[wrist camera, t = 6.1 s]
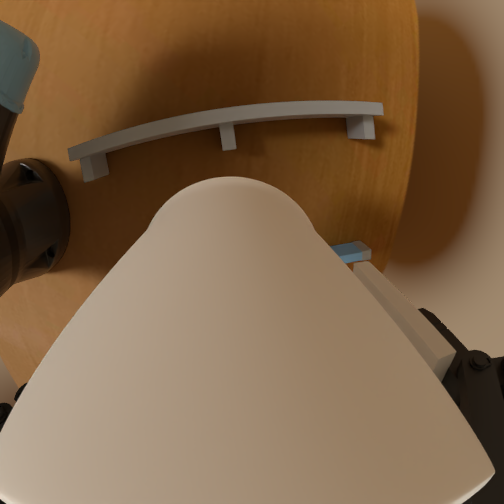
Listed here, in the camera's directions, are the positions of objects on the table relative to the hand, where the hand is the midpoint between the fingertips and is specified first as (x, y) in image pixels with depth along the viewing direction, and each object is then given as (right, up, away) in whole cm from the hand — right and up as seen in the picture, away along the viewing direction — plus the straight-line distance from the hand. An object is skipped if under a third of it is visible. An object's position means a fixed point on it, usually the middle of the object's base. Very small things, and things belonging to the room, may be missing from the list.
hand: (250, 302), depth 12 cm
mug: (0, +1, +2) cm, 2 cm away
